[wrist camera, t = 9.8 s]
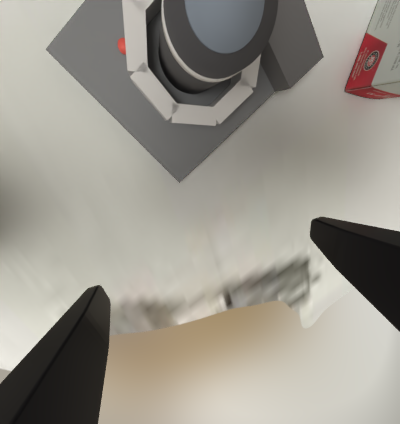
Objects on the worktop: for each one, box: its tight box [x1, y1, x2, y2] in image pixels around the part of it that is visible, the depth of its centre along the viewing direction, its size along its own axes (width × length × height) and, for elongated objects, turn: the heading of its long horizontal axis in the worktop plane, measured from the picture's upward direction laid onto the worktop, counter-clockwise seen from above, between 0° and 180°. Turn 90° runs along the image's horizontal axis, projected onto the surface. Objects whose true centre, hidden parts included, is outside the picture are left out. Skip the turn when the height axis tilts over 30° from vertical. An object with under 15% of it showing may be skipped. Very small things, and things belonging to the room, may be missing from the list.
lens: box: [158, 0, 278, 94], centre depth 10 cm, size 5×5×7 cm
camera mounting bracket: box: [46, 0, 323, 183], centre depth 13 cm, size 14×12×4 cm
